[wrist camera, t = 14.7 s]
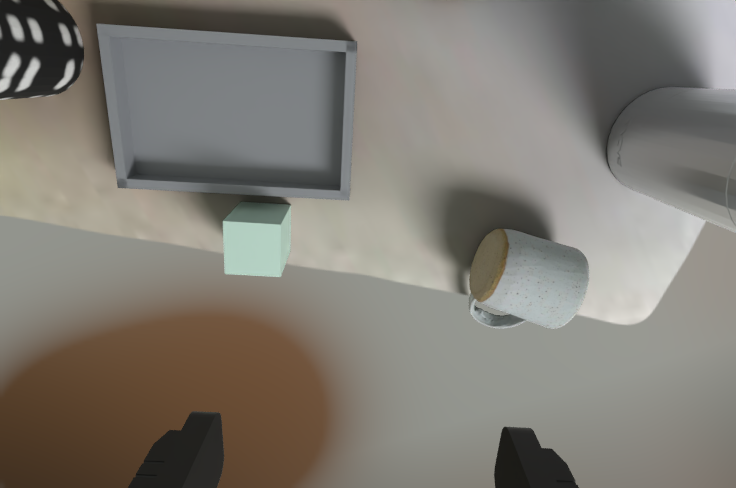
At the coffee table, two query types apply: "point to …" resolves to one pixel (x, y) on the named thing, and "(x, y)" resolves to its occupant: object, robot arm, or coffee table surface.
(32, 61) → the white-spotted black cylinder
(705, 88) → the robot arm
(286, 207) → the sage block
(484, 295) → the ceramic mug
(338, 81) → the gray tray
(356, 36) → the coffee table surface
